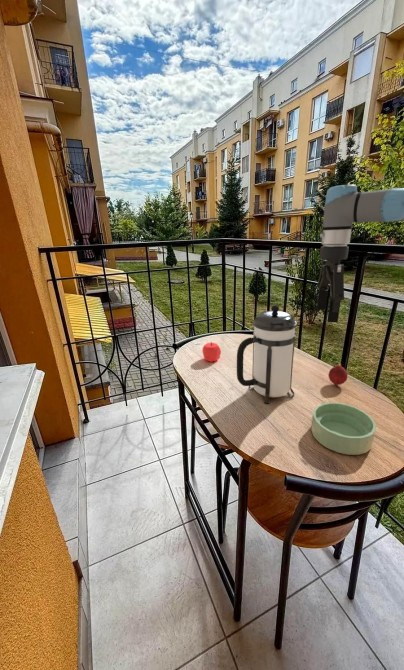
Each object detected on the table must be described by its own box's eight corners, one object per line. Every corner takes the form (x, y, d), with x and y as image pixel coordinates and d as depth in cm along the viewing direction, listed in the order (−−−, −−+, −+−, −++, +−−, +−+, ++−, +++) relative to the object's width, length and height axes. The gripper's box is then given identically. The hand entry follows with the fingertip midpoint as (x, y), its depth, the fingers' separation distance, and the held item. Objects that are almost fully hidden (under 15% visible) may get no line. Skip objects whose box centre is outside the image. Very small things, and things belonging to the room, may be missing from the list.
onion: (348, 390, 93) (351, 368, 90) (329, 389, 94) (332, 367, 91) (342, 381, 98) (346, 360, 96) (325, 380, 99) (328, 360, 96)
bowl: (367, 425, 76) (371, 408, 74) (376, 463, 64) (380, 444, 62) (312, 414, 82) (314, 398, 80) (310, 448, 69) (312, 430, 67)
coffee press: (253, 377, 103) (255, 297, 93) (298, 386, 96) (306, 301, 86) (235, 401, 89) (235, 311, 79) (286, 415, 82) (294, 316, 71)
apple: (198, 358, 120) (197, 341, 117) (213, 354, 124) (213, 337, 121) (209, 365, 114) (208, 347, 111) (224, 360, 118) (224, 342, 115)
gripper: (311, 243, 94) (306, 305, 101) (333, 248, 71) (323, 328, 78) (335, 242, 93) (328, 305, 100) (365, 247, 69) (352, 328, 77)
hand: (326, 315), depth 89 cm, fingers open, 13 cm apart
